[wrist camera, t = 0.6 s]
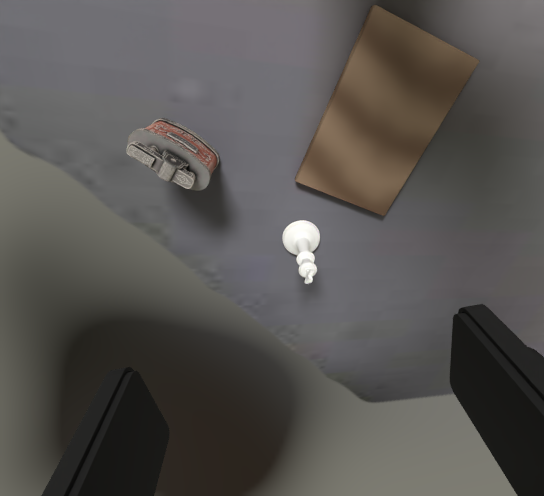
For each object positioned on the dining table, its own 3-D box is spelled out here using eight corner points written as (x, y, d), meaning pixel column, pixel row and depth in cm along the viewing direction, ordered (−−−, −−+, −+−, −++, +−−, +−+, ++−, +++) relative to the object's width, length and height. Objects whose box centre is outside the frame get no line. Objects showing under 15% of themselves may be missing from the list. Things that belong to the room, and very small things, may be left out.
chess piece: (277, 248, 44) (280, 293, 35) (289, 215, 41) (295, 255, 33) (311, 257, 45) (323, 303, 36) (325, 226, 42) (340, 267, 34)
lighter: (225, 152, 37) (212, 178, 29) (210, 176, 39) (195, 208, 30) (160, 110, 35) (125, 124, 26) (147, 137, 37) (110, 159, 28)
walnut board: (371, 6, 31) (375, 4, 30) (473, 60, 33) (479, 60, 32) (294, 178, 39) (295, 181, 38) (381, 212, 41) (384, 216, 40)
